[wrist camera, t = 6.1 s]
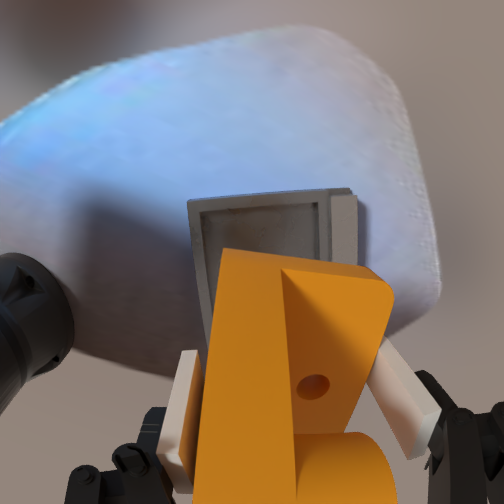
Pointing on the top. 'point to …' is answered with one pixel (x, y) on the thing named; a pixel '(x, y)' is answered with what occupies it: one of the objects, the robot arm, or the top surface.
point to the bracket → (291, 384)
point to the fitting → (270, 231)
